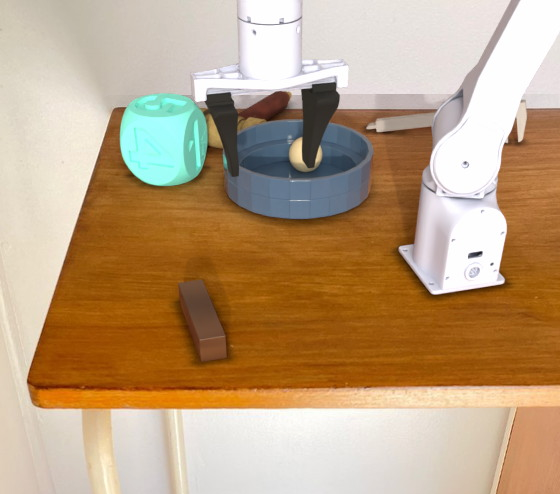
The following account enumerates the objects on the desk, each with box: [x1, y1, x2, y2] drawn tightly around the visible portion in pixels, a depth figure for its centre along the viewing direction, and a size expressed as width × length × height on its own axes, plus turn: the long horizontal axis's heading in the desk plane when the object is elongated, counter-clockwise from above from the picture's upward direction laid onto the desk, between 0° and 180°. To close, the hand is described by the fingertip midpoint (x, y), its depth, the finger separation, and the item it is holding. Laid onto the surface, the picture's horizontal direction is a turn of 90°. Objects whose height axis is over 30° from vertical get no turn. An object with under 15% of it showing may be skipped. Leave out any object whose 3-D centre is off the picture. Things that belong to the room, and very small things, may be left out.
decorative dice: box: [119, 92, 208, 187], centre depth 101 cm, size 8×8×8 cm
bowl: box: [222, 118, 375, 220], centre depth 99 cm, size 17×17×5 cm
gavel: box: [199, 90, 293, 150], centre depth 113 cm, size 21×5×10 cm
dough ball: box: [289, 137, 322, 172], centre depth 102 cm, size 4×4×4 cm
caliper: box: [365, 99, 528, 144], centre depth 110 cm, size 20×1×6 cm, turn 77°
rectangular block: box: [177, 279, 228, 363], centre depth 79 cm, size 10×2×2 cm, turn 16°
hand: (271, 168), depth 84 cm, fingers open, 7 cm apart
